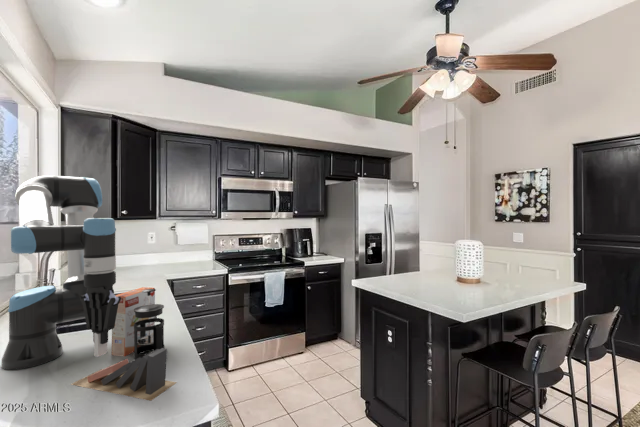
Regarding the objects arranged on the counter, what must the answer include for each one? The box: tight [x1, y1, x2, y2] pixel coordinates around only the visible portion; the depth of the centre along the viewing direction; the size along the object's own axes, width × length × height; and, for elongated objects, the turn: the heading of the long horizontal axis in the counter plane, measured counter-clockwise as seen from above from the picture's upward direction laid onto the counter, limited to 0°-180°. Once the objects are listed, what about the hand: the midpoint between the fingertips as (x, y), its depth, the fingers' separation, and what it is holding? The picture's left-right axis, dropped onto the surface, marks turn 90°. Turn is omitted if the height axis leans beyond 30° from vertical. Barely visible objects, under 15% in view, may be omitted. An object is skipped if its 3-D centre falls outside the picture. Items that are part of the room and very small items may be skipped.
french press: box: [133, 288, 165, 360], centre depth 105 cm, size 12×9×23 cm
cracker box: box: [111, 286, 156, 357], centre depth 112 cm, size 14×6×21 cm, turn 168°
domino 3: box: [130, 349, 159, 392], centre depth 85 cm, size 2×5×10 cm, turn 163°
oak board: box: [70, 368, 178, 402], centre depth 88 cm, size 28×9×1 cm, turn 73°
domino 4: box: [146, 347, 168, 395], centre depth 84 cm, size 2×5×10 cm, turn 163°
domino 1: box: [101, 357, 140, 385], centre depth 88 cm, size 2×5×10 cm
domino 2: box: [116, 357, 143, 388], centre depth 87 cm, size 2×5×10 cm
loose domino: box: [87, 358, 130, 382], centre depth 89 cm, size 2×5×10 cm
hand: (100, 354), depth 90 cm, fingers closed
